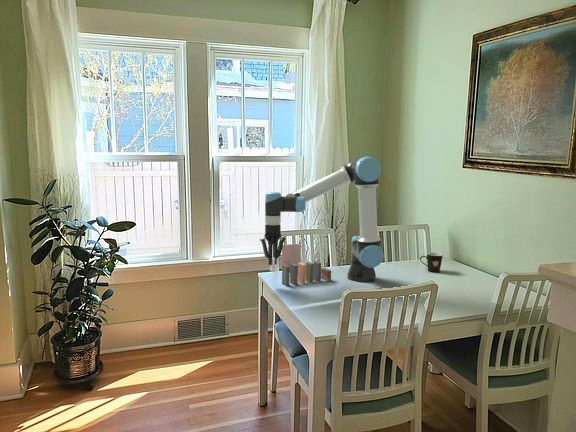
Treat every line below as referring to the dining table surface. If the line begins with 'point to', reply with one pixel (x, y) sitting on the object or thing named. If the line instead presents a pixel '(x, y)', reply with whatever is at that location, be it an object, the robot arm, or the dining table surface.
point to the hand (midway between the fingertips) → (272, 271)
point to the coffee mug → (433, 262)
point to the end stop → (326, 274)
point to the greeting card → (291, 254)
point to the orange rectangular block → (301, 273)
